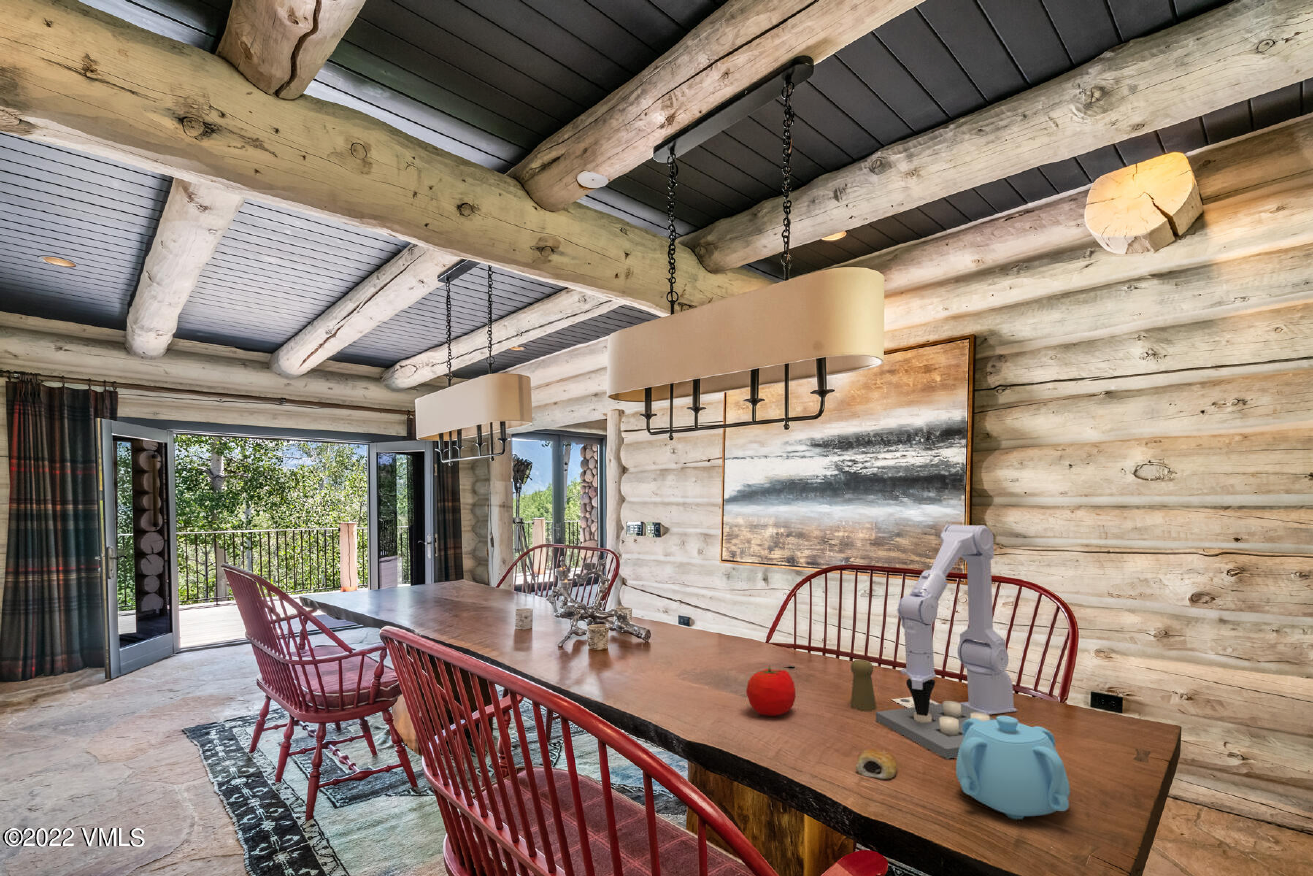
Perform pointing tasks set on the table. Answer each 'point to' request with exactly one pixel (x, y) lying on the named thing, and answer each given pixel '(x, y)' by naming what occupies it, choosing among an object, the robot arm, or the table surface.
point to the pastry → (877, 764)
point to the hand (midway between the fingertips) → (922, 714)
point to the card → (909, 702)
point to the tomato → (771, 692)
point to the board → (926, 728)
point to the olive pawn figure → (862, 686)
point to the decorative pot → (1012, 767)
